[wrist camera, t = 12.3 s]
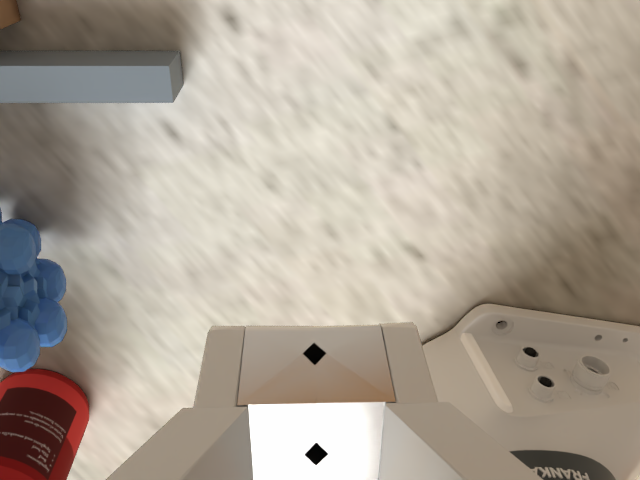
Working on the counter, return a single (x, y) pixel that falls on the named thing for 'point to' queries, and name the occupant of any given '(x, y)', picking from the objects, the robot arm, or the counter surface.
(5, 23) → the t block
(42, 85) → the bay
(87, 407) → the canned food
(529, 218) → the counter surface
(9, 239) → the grapes
